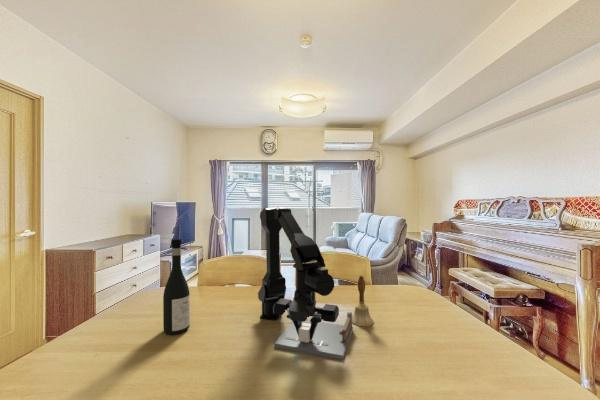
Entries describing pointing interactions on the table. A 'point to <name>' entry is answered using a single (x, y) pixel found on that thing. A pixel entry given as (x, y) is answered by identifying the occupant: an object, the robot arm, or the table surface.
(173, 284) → the wine bottle
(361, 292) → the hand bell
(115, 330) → the table surface
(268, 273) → the robot arm
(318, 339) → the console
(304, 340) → the fader
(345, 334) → the door
